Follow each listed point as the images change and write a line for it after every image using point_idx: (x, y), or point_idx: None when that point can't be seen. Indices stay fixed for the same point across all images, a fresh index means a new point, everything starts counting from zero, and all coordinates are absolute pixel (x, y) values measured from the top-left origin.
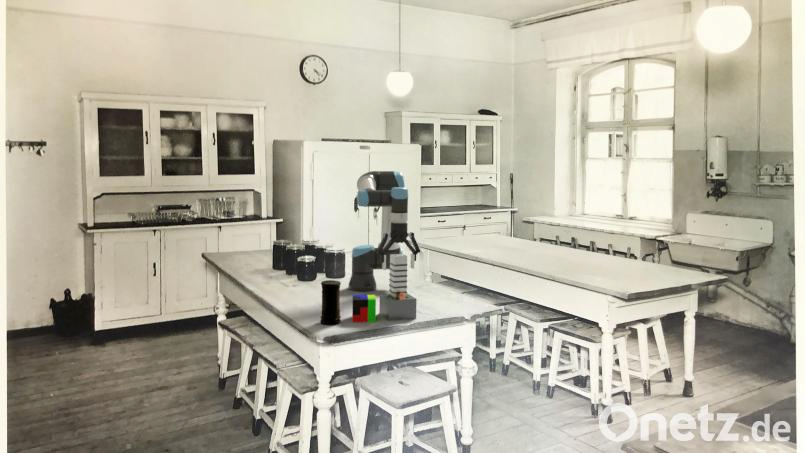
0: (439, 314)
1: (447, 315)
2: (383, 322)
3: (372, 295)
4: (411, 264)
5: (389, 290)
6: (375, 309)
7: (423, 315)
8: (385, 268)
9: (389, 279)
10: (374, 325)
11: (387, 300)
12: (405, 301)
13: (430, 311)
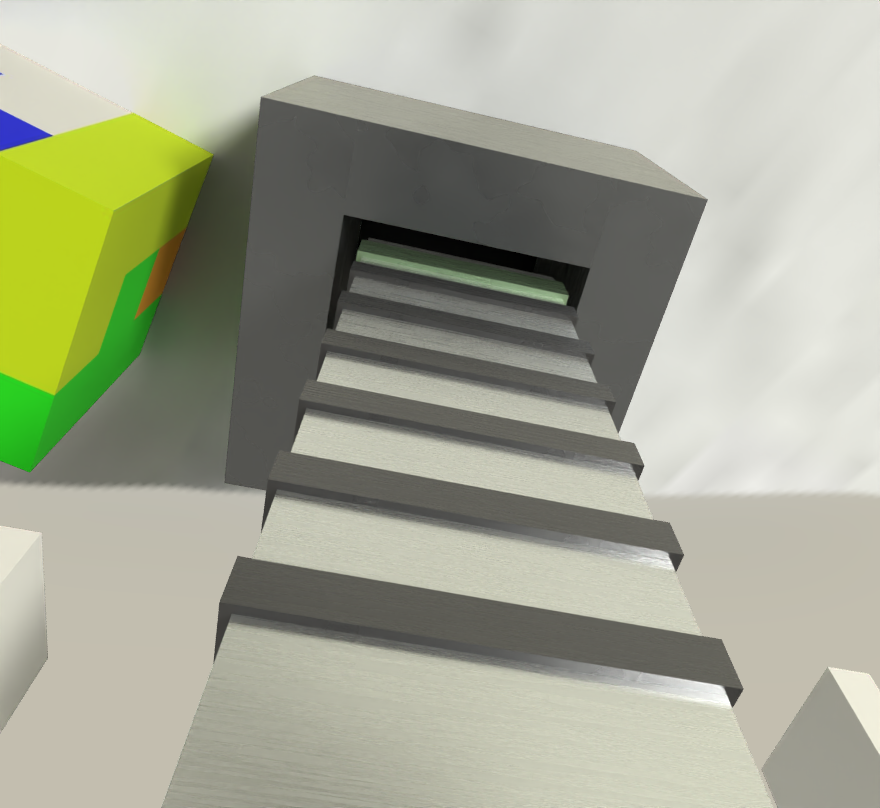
0: (832, 413)
1: (859, 471)
2: (206, 397)
3: (63, 234)
4: (845, 800)
5: (348, 285)
6: (82, 412)
7: (680, 372)
8: (12, 693)
9: (321, 352)
10: (93, 437)
11: (232, 425)
12: None
13: (859, 280)
